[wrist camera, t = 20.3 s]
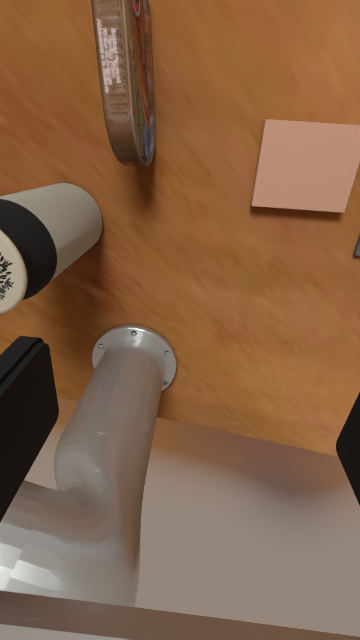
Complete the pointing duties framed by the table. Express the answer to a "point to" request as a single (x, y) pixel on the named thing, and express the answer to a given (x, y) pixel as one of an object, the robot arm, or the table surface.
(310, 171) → the tile
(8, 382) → the robot arm
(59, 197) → the travel mug
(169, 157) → the table surface
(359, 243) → the mat
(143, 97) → the tin
